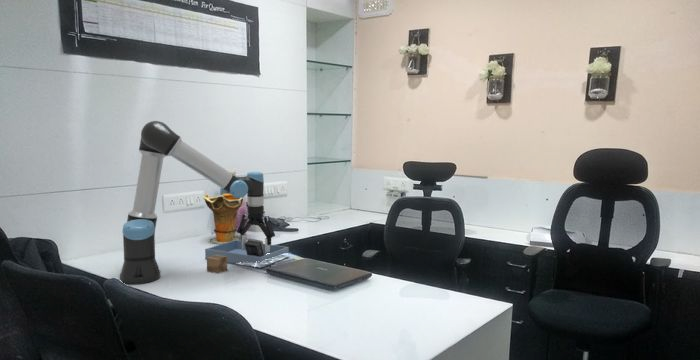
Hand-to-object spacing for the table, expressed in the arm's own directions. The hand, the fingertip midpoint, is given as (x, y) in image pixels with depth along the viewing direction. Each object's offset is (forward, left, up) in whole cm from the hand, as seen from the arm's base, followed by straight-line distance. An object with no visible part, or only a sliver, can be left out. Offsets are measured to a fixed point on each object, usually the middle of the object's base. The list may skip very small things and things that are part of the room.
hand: (255, 249), depth 227 cm
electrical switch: (0, 0, -4) cm, 4 cm away
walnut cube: (-22, +4, -5) cm, 23 cm away
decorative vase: (+24, +39, -5) cm, 46 cm away
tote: (0, +5, -5) cm, 7 cm away
